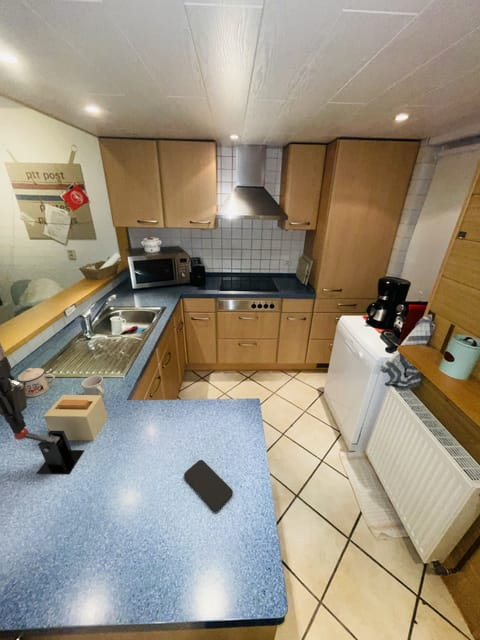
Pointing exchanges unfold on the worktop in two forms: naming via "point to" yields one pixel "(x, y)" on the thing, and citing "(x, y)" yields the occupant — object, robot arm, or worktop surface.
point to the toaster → (78, 418)
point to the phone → (208, 485)
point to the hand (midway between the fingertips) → (19, 429)
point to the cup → (94, 385)
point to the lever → (36, 437)
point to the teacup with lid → (35, 381)
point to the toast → (74, 404)
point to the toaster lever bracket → (58, 455)
